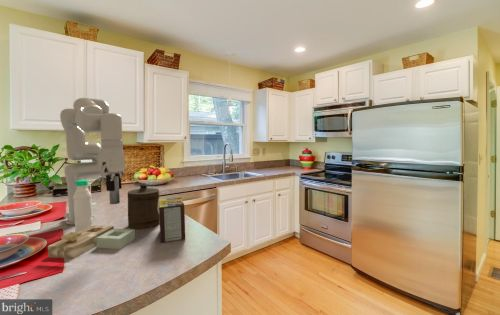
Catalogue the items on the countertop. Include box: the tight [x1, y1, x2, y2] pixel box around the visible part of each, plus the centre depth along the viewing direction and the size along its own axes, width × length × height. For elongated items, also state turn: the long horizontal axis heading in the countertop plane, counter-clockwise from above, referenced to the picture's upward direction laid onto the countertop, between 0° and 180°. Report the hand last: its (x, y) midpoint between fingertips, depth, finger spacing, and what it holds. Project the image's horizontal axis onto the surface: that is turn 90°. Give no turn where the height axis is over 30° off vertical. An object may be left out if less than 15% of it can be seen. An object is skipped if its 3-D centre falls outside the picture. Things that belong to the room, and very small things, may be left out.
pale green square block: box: [96, 228, 136, 250], centre depth 101 cm, size 10×10×5 cm
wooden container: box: [127, 182, 160, 231], centre depth 124 cm, size 15×15×22 cm
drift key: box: [60, 231, 81, 243], centre depth 94 cm, size 4×4×5 cm
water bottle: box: [73, 180, 94, 233], centre depth 114 cm, size 7×7×25 cm
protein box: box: [159, 197, 186, 244], centre depth 112 cm, size 10×15×16 cm
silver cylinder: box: [108, 175, 121, 205], centre depth 100 cm, size 4×4×11 cm
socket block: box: [47, 225, 115, 259], centre depth 100 cm, size 10×22×5 cm, turn 173°
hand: (114, 189), depth 100 cm, fingers closed on silver cylinder, 3 cm apart
